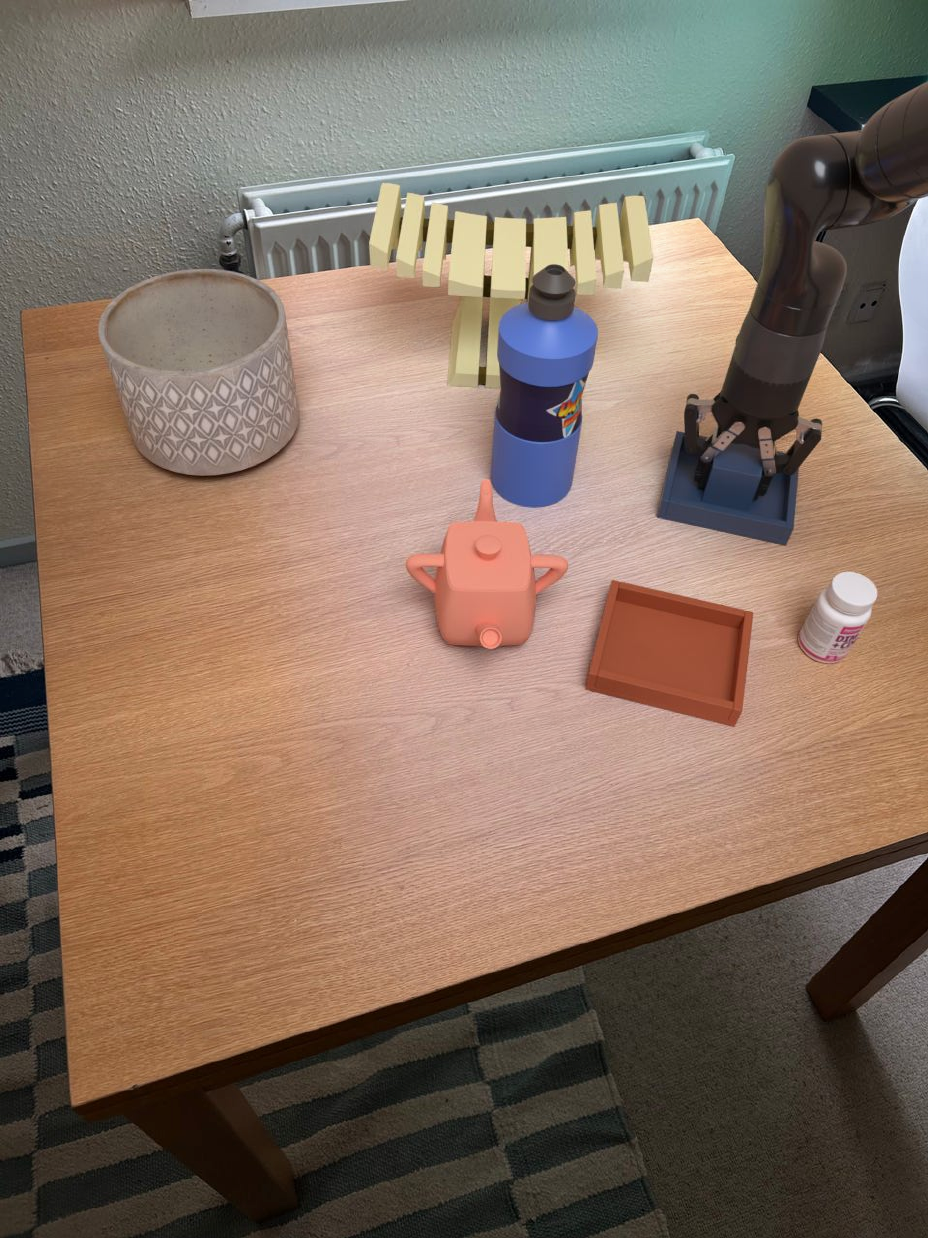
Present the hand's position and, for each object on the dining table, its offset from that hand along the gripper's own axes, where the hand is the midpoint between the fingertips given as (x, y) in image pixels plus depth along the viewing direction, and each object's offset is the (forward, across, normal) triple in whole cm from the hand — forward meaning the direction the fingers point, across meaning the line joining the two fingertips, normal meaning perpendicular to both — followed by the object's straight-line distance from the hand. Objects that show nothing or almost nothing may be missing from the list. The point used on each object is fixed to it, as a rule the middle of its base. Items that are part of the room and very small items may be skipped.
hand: (728, 488), depth 99 cm
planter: (+1, -57, -7) cm, 57 cm away
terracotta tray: (+1, -3, -24) cm, 24 cm away
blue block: (0, 0, 0) cm, 0 cm away
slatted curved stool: (+1, -30, +18) cm, 35 cm away
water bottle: (+1, -21, -4) cm, 21 cm away
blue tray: (+1, 0, 0) cm, 1 cm away
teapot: (+1, -21, -24) cm, 32 cm away
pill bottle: (+1, +11, -18) cm, 21 cm away
